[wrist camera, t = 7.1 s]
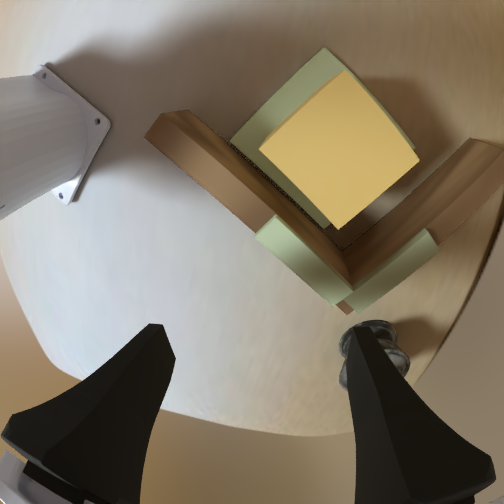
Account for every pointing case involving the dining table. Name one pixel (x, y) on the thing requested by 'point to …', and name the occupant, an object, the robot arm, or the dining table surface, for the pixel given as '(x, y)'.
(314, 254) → the walnut walls
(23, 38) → the dining table surface
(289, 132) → the ochre block
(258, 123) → the sage pad
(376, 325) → the grey stone finial
